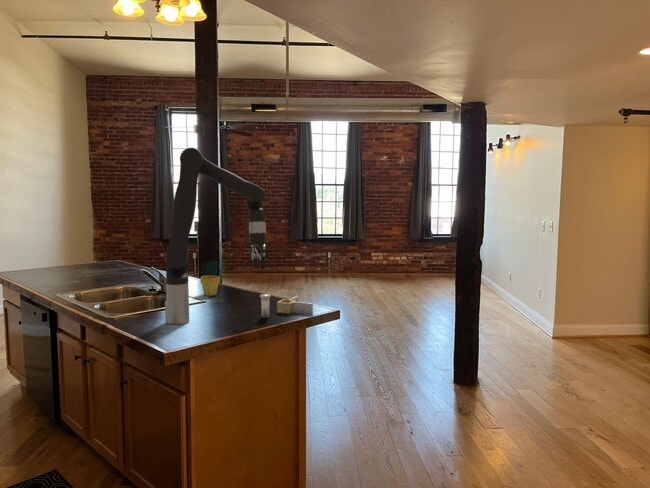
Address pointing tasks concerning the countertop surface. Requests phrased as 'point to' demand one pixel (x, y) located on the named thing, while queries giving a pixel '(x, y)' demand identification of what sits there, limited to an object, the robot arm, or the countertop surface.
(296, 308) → the shallow cream box
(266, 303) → the pin
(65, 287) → the countertop surface
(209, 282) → the plant pot
